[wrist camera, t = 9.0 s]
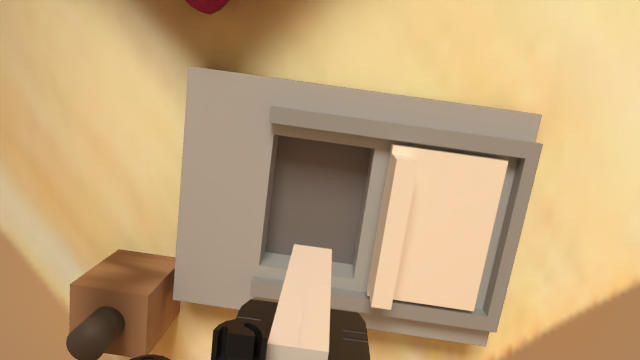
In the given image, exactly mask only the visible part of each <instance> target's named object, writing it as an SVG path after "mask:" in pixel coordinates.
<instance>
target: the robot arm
mask: <svg viewBox="0 0 640 360" xmlns="http://www.w3.org/2000/svg"><path fill="white" fill-rule="evenodd" d="M331 265H332V249H327V248H319V247H312V246H305V245H297V244H294V247H293V250H292V254H291V258H290V261H289V265H288V269H287V273H286V276H285V280H284V284H283V287H282V291H281V295H280V299H279V302H278V303H276V302H269V301H262V300H255V299H250V300H249V301H248V302H246V303H245V304H244V305H242V306H241V308H240V310H239V313H238V315H237V317H236V319H235V320H230V321H226V322H224V323H222V324H220V325H218V326H217V327H216V328H215V329H214V330H213V341H212V353H211V360H370V354H369V346H368V338H367V329H366V322H365V321H364V319H363V318H362V317H361V316H360V314H359V313H357V312H350V311H343V310H336V309H330V298H331ZM130 360H170V359H168V358H166V357H164V356H159V355H142V356H139V357H136V358H132V359H130Z"/></svg>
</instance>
